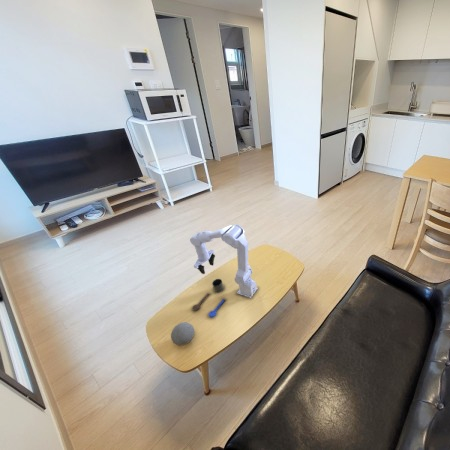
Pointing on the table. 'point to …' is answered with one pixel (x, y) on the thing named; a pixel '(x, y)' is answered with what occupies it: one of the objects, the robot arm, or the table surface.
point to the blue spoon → (215, 309)
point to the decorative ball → (182, 333)
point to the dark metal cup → (217, 285)
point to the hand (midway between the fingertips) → (207, 269)
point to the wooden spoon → (199, 303)
